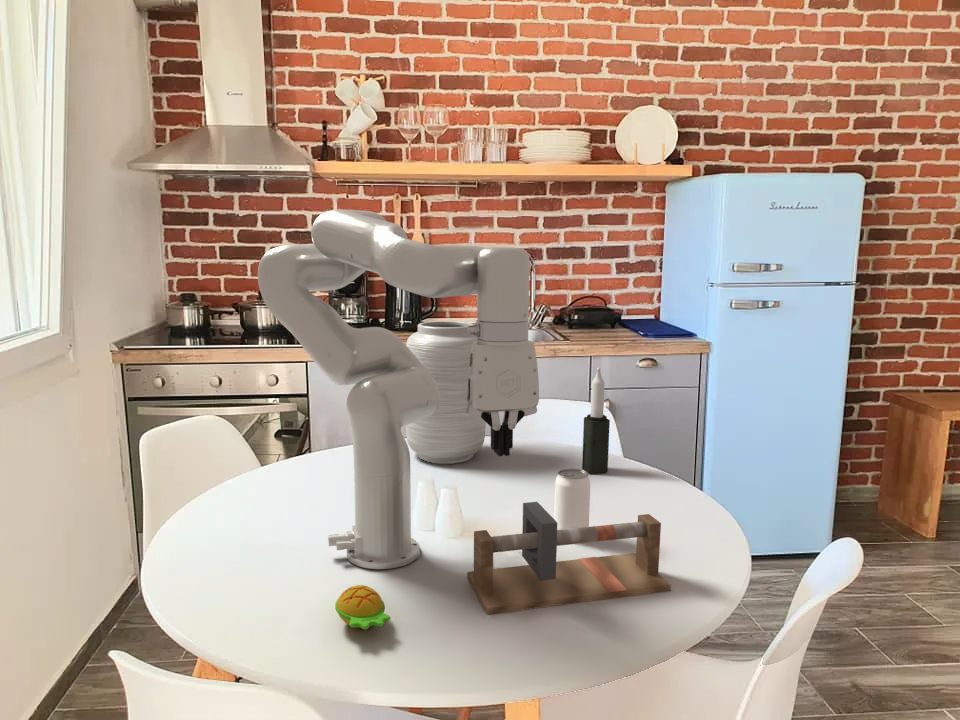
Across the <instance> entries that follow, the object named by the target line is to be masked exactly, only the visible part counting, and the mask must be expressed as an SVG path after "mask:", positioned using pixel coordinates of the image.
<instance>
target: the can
mask: <svg viewBox="0 0 960 720" xmlns="http://www.w3.org/2000/svg"><path fill="white" fill-rule="evenodd" d="M590 500H591V479H590V478H589V474H588V473H587V472H586V471H585V470H582V469H579V468H564V469H563V468H562V469H560V470H558V472H557V476H556V478H555V482H554V502H553V503H554V505H553V506H554V507H553V508H554V509H553V514H554V515H553V519H554V520H555V521H556V522H557V530H562V529H572V528H582V527H590V526H589V525H590V508H591V507H590V505H591V504H590V503H591V502H590Z"/></svg>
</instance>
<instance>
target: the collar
mask: <svg viewBox="0 0 960 720" xmlns="http://www.w3.org/2000/svg"><path fill="white" fill-rule="evenodd" d="M533 532H538V548H532V549H523V550H521V557H523V559H524V560H525V562H526V563H527V565H529V566H530V567H531V568H532V570H533V571H534V572H535V574H536V575H537V576H538V578H539V579H540V580H541V581H542V580H551V579H556V562H557V555H558V554H557V550H558V549H557V548H558V546H557V522H556V521H555V520H554V517H552V515H550V513H549V512H548V511H547V510H546V509H545V508H544V507H543V506H542V505H541V504H540V503H539V502H538V501H531V502H522V533H521V534H523V533H533Z"/></svg>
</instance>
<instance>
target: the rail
mask: <svg viewBox="0 0 960 720" xmlns="http://www.w3.org/2000/svg"><path fill="white" fill-rule="evenodd" d="M661 529H662V522H660V521H659V520H657V518H655V517H654V516H652V515H651V514H650V513H646V514H638V515H637V521H633V522H625V523H624V522H623V523H614V524H604V525H603V524H602V525H595V526H589V527H582V528H572V529H562V530H557V547H559V546H568V545H578V544H587V543H595V542H604V541H605V542H606V541H615V540H624V539H626V540H627V539H633V538H636V549H635V550H636V551H635V552H632V553H631V552H629V553H622V554H621V553H620V554H614V555H603V556H590V557H580V558H577V559H576V558H575V559H568V560H560V561H556V579H551V580H542V581H541V580H540V579H539V578H538V576H537V575H536V574H535V572H534V571H533V570H532V568H531V567H530V566H529V564H524V565H515V566H507V567H500V568H499V567H496V568H494V554H495V553H503V552H511V551H512V552H515V551H520V550H521V551H522V550H523V549H532V548H538V532H533V533H523V534H522V533H516V534H514V533H513V534H505V535H493V536H491V534H490V533H489V531H488V530H487V529H486V530H485V529H484V530H483V529H482V530H474V531H473V570H472V571H467V572H466V575H467V576H466V578H467V580H468V582H469V584H470V585H471V587H472V589H473V591H474V593H475V595H476V597H477V599H478V600H479V602H480V604H481V605H482V608H483V609H484V611H485V613H486V615H493V614H501V613H508V612H516V611H523V610H531V609H539V608H546V607H555V606H561V605H570V604H577V603H578V604H579V603H585V602H593V601H601V600H607V599H608V600H609V599H617V598H625V597H631V596H639V595H647V594H655V593H660V592H661V593H663V592H668V591H671V590H672V589H671V586H672V584H671V583H670V582H668V581H667V579H665V578H664V577H663V576H662V575H661V574H660V573H659V570H660V569H659V567H660V562H659V561H660V551H661V550H660V548H661V532H662V531H661Z"/></svg>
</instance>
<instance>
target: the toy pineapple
mask: <svg viewBox="0 0 960 720" xmlns="http://www.w3.org/2000/svg"><path fill="white" fill-rule="evenodd" d="M334 607H335V611H336V612H337V614H338V616H339V618H340V619H341V621H343V622H344V623H345V624H346V625H348V626H349V627H350V628H356V629H359V628H361V629H362V630H368V629H369V628H370V627H371V626H376V627H379V628H380V627H383V626H384V625H385V622H389V621H390V620H391V617H390V615H388V614H387V613H385V610H386V604H385V602H384V600H383V599H382V598H381V595H380V594H379V593H378V591H376V590H375V589H374V588H372V587H370V586H368V585H363V584H358V585H353V586H349V587H347V589H345V590H344V591H343V592H342V593H341V594H340V595H339V597H338V598H337V600H336V601H335V604H334Z"/></svg>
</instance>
